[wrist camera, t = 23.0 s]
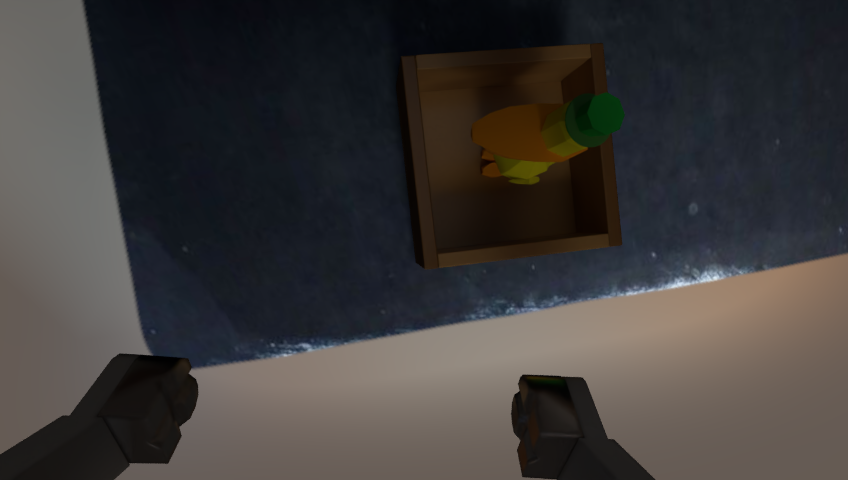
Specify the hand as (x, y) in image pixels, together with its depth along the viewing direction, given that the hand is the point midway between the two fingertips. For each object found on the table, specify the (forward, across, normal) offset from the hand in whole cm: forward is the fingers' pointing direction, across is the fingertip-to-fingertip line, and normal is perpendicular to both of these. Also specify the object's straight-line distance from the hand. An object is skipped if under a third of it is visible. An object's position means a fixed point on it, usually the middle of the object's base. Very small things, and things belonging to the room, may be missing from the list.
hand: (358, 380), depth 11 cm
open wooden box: (+20, -7, +3) cm, 21 cm away
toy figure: (+19, -6, +2) cm, 20 cm away
